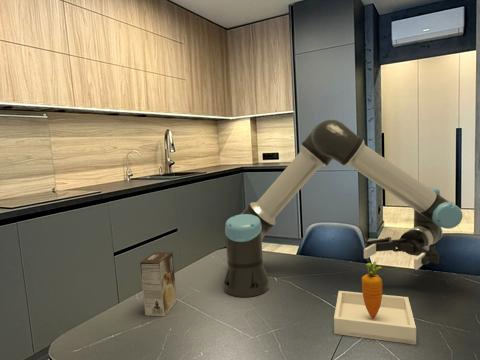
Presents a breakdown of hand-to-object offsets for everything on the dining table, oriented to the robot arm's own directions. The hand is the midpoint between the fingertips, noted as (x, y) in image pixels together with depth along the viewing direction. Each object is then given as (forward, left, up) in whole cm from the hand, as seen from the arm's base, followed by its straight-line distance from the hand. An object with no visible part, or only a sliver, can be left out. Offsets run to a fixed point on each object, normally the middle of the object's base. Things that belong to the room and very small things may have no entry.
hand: (388, 258), depth 94 cm
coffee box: (-63, -16, -14) cm, 67 cm away
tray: (-4, -9, -14) cm, 17 cm away
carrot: (-4, -9, -13) cm, 17 cm away
